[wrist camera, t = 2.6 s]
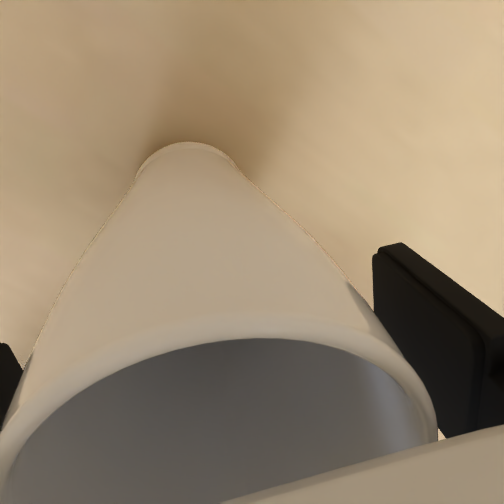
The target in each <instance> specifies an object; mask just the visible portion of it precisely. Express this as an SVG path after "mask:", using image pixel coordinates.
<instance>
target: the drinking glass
mask: <svg viewBox="0 0 504 504" xmlns="http://www.w3.org/2000/svg"><path fill="white" fill-rule="evenodd" d="M436 441H438V425H437V419H436V413H435V410H434V407H433V404H432V401H431V398H430V395H429V393H428V391H427V389H426V387H425V385H424V384H423V382H422V380H421V379H420V377H419V376H418V374H417V373H416V372H415V370H414V369H413V368H412V366H411V365H410V364H409V362H408V361H407V359H406V358H405V356H404V355H403V354H402V352H401V351H400V349H399V348H398V346H397V345H396V343H395V342H394V340H393V339H392V337H391V336H390V334H389V333H388V332H387V330H386V329H385V327H384V326H383V324H382V323H381V322H380V320H379V319H378V317H377V316H376V315H375V313H374V312H373V310H372V309H371V308H370V306H369V305H368V303H367V302H366V301H365V299H364V298H363V297H362V295H361V294H360V293H359V291H358V290H357V289H356V287H355V286H354V285H353V283H352V282H351V281H350V280H349V278H348V277H347V276H346V274H345V273H344V272H343V271H342V270H341V268H340V267H339V266H338V265H337V264H336V262H335V261H334V260H333V259H332V258H331V257H330V256H329V254H328V253H327V252H326V251H325V250H324V249H323V248H322V247H321V246H320V245H319V244H318V242H317V241H316V240H315V239H314V238H313V237H312V236H311V235H310V234H309V233H308V232H307V231H306V230H305V229H304V228H303V227H302V226H301V225H300V224H299V223H297V222H296V221H295V220H294V219H293V218H292V217H291V216H290V215H289V214H288V213H286V212H285V211H284V210H283V209H282V208H281V207H280V206H279V205H277V204H276V203H275V202H274V201H273V200H272V199H271V198H269V197H268V196H267V195H266V194H265V193H264V192H263V191H262V190H260V189H259V188H258V187H257V186H256V185H255V184H254V183H253V182H252V181H251V180H249V179H248V178H247V177H246V176H245V175H244V174H243V173H242V172H241V171H240V169H239V168H238V166H237V165H236V164H235V163H234V162H233V160H232V159H231V158H229V157H228V156H227V155H226V154H225V153H223V152H222V151H220V150H218V149H217V148H215V147H212V146H210V145H207V144H203V143H198V142H179V143H174V144H171V145H168V146H165V147H163V148H161V149H159V150H158V151H156V152H155V153H153V154H152V155H151V156H149V157H148V158H147V159H146V160H145V162H144V163H143V164H142V165H141V167H140V168H139V170H138V172H137V174H136V176H135V178H134V181H133V183H132V185H131V186H130V188H129V189H128V191H127V192H126V194H125V195H124V197H123V198H122V199H121V201H120V202H119V204H118V205H117V206H116V208H115V209H114V211H113V212H112V213H111V215H110V216H109V218H108V219H107V220H106V222H105V223H104V224H103V226H102V227H101V229H100V230H99V231H98V233H97V234H96V236H95V237H94V238H93V240H92V241H91V243H90V244H89V246H88V247H87V249H86V250H85V251H84V253H83V255H82V256H81V258H80V259H79V261H78V262H77V264H76V266H75V267H74V269H73V270H72V272H71V274H70V275H69V277H68V279H67V280H66V282H65V284H64V286H63V287H62V289H61V291H60V293H59V295H58V297H57V299H56V301H55V303H54V305H53V307H52V309H51V311H50V313H49V315H48V317H47V319H46V321H45V323H44V325H43V327H42V329H41V332H40V334H39V336H38V338H37V340H36V342H35V344H34V347H33V349H32V351H31V354H30V356H29V358H28V360H27V363H26V365H25V368H24V370H23V372H22V375H21V377H20V380H19V382H18V385H17V387H16V390H15V392H14V395H13V397H12V400H11V402H10V405H9V408H8V410H7V413H6V415H5V418H4V421H3V423H2V426H1V428H0V504H217V503H221V502H224V501H228V500H231V499H235V498H238V497H241V496H245V495H248V494H252V493H255V492H259V491H262V490H266V489H269V488H273V487H276V486H279V485H283V484H286V483H290V482H293V481H297V480H301V479H304V478H308V477H311V476H315V475H318V474H322V473H325V472H329V471H332V470H336V469H339V468H343V467H346V466H350V465H353V464H357V463H360V462H364V461H367V460H371V459H374V458H378V457H381V456H385V455H388V454H392V453H396V452H399V451H403V450H406V449H410V448H413V447H417V446H421V445H425V444H429V443H432V442H436Z"/></svg>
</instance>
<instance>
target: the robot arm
mask: <svg viewBox="0 0 504 504" xmlns="http://www.w3.org/2000/svg"><path fill="white" fill-rule="evenodd" d="M372 270H373V298H374V313H375V315H376V316H377V317H378V319H379V320H380V322H381V323H382V324H383V326H384V327H385V329H386V330H387V332H388V333H389V334H390V336H391V337H392V339H393V340H394V342H395V343H396V345H397V346H398V348H399V349H400V351H401V352H402V354H403V355H404V356H405V358H406V359H407V361H408V362H409V364H410V365H411V366H412V368H413V369H414V370H415V372H416V373H417V374H418V376H419V377H420V379H421V380H422V382H423V384H424V385H425V387H426V389H427V391H428V393H429V395H430V398H431V401H432V404H433V407H434V410H435V413H436V419H437V425H438V428H439V429H440V431H441V432H442V433H443V435H444V436H445V437H446V439H444V440H440V441H436V442H432V443H429V444H425V445H421V446H417V447H413V448H410V449H406V450H403V451H399V452H396V453H392V454H388V455H385V456H381V457H378V458H374V459H371V460H367V461H364V462H360V463H357V464H353V465H350V466H346V467H343V468H339V469H336V470H332V471H329V472H325V473H322V474H318V475H315V476H311V477H308V478H304V479H301V480H297V481H293V482H290V483H286V484H283V485H279V486H276V487H273V488H269V489H266V490H262V491H259V492H255V493H252V494H248V495H245V496H241V497H238V498H235V499H231V500H228V501H224V502H221V503H217V504H504V318H503V317H502V316H500V315H499V314H498V313H496V312H495V311H494V310H492V309H491V308H490V307H488V306H487V305H486V304H484V303H483V302H482V301H480V300H479V299H478V298H476V297H475V296H474V295H472V294H471V293H469V292H468V291H467V290H465V289H464V288H463V287H461V286H460V285H459V284H457V283H456V282H455V281H453V280H452V279H451V278H449V277H448V276H447V275H445V274H444V273H443V272H441V271H440V270H439V269H437V268H436V267H435V266H433V265H432V264H431V263H429V262H428V261H426V260H425V259H424V258H422V257H421V256H420V255H418V254H417V253H416V252H414V251H413V250H412V249H410V248H409V247H408V246H406V245H405V244H403V243H396V244H392V245H387V246H383V247H380V248H379V249H378V253H377V254H374V255H373V257H372ZM22 372H23V370H22V368H21V366H20V365H19V363H18V361H17V359H16V357H15V356H14V354H13V352H12V350H11V348H10V347H9V346H8V345H7V344H5V343H2V344H1V343H0V428H1V426H2V423H3V421H4V418H5V415H6V413H7V410H8V408H9V405H10V402H11V400H12V397H13V395H14V392H15V390H16V387H17V385H18V382H19V380H20V377H21V375H22Z"/></svg>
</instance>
